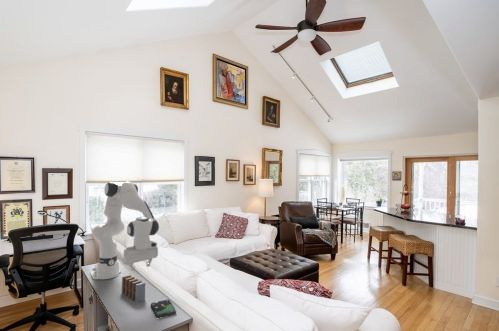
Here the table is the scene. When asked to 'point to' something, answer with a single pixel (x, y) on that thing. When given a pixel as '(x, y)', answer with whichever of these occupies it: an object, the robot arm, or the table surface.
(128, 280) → the domino
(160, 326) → the table surface
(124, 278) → the domino
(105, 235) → the robot arm
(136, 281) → the domino
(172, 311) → the disk drive
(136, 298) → the end domino
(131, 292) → the domino
